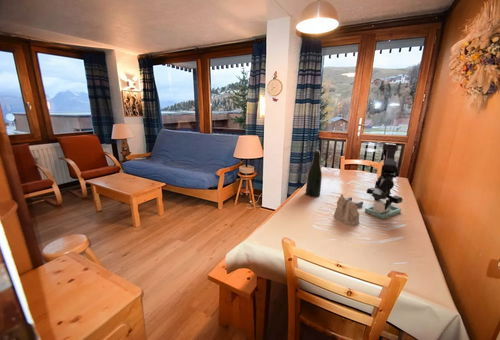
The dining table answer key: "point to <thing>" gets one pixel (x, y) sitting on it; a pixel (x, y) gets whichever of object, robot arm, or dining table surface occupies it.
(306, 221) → the dining table surface
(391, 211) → the tray
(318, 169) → the beer bottle
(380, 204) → the teal striped block
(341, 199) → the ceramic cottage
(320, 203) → the dining table surface
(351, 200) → the bay
